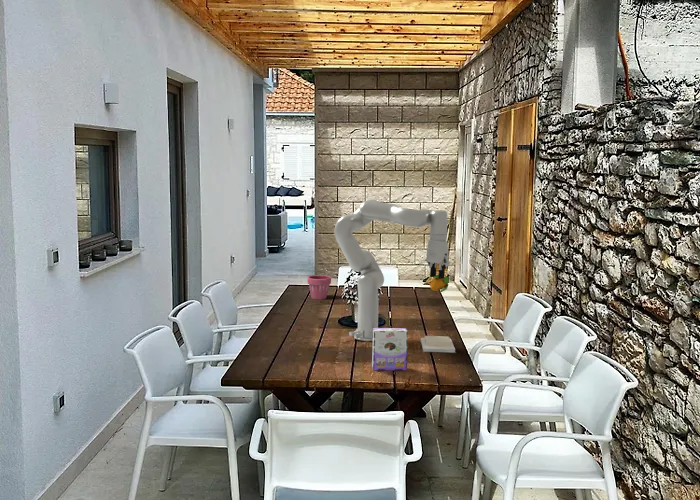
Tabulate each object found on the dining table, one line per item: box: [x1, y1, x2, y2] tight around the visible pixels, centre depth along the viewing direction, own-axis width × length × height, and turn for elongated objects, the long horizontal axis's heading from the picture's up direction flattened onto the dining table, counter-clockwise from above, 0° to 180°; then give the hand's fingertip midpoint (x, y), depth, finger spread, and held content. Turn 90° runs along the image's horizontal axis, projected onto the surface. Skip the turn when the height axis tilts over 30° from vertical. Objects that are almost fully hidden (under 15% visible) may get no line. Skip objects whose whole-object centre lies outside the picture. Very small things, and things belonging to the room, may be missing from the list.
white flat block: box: [420, 335, 456, 354], centre depth 344 cm, size 20×14×4 cm
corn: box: [429, 273, 450, 294], centre depth 343 cm, size 7×8×20 cm
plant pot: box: [307, 274, 332, 300], centre depth 456 cm, size 14×14×13 cm
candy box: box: [371, 327, 409, 371], centre depth 305 cm, size 14×6×16 cm, turn 92°
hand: (437, 277), depth 343 cm, fingers closed on corn, 4 cm apart
